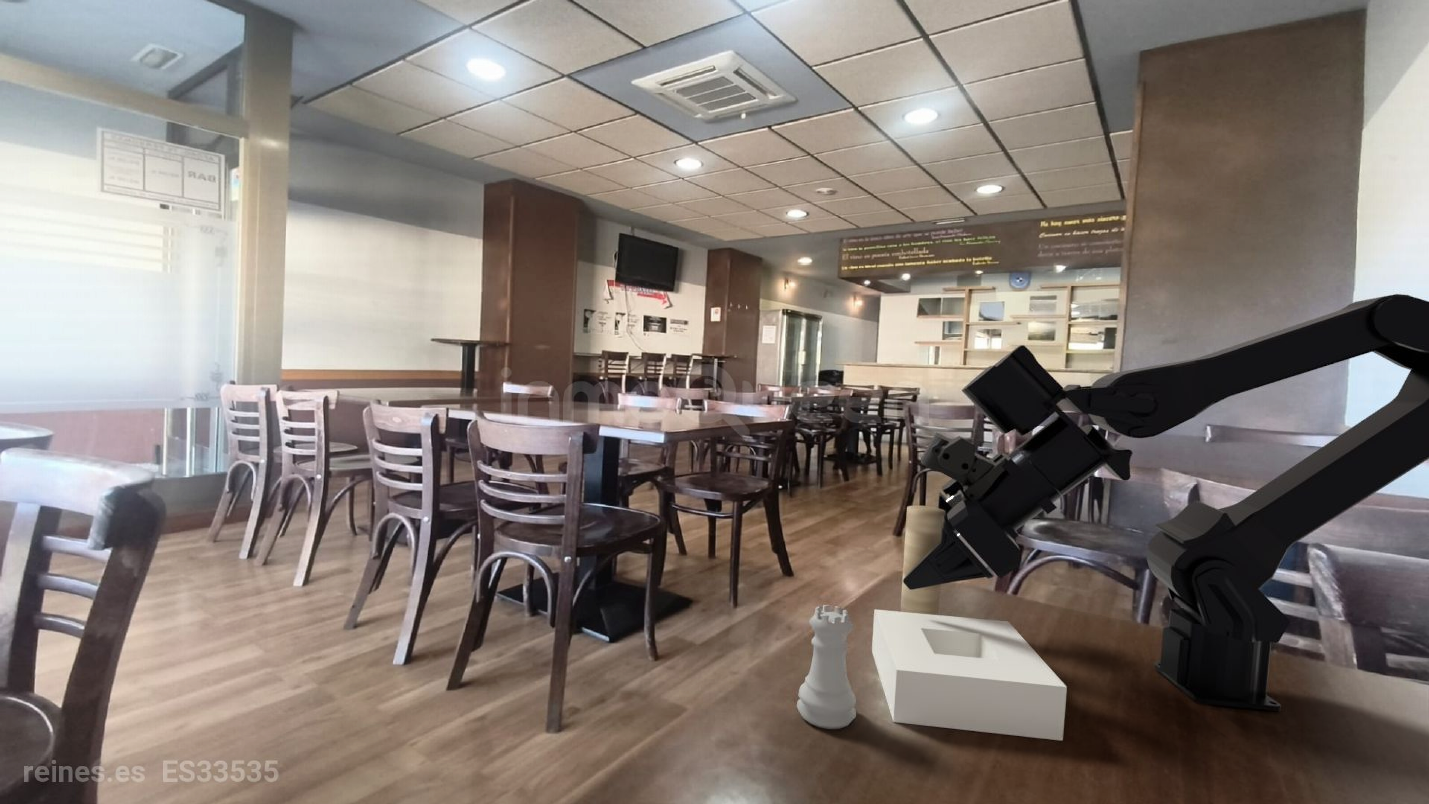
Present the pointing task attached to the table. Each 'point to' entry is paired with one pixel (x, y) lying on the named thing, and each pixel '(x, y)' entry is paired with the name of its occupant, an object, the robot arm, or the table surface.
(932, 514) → the peg
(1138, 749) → the table surface
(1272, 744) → the table surface
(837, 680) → the rook chess piece
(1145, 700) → the table surface
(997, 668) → the block
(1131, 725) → the table surface
